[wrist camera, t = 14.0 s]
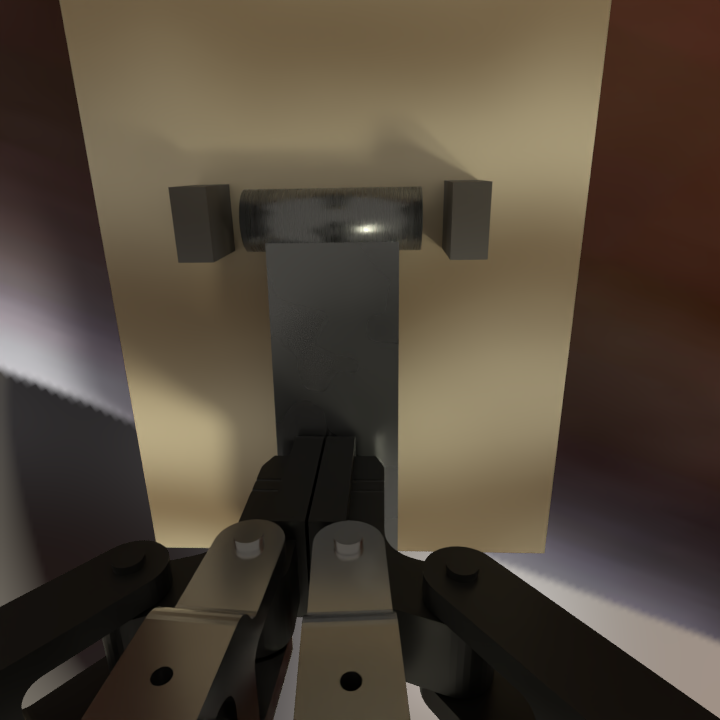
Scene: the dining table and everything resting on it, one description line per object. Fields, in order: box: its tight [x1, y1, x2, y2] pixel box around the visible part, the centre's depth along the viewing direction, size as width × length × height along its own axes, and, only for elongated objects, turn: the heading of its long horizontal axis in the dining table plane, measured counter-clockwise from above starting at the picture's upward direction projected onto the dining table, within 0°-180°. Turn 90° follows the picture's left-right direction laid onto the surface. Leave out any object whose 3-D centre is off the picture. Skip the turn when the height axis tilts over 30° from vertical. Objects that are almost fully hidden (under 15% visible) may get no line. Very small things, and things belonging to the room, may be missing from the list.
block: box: [59, 0, 611, 553], centre depth 14 cm, size 24×12×7 cm, turn 1°
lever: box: [239, 186, 423, 551], centre depth 13 cm, size 11×4×1 cm, turn 1°
